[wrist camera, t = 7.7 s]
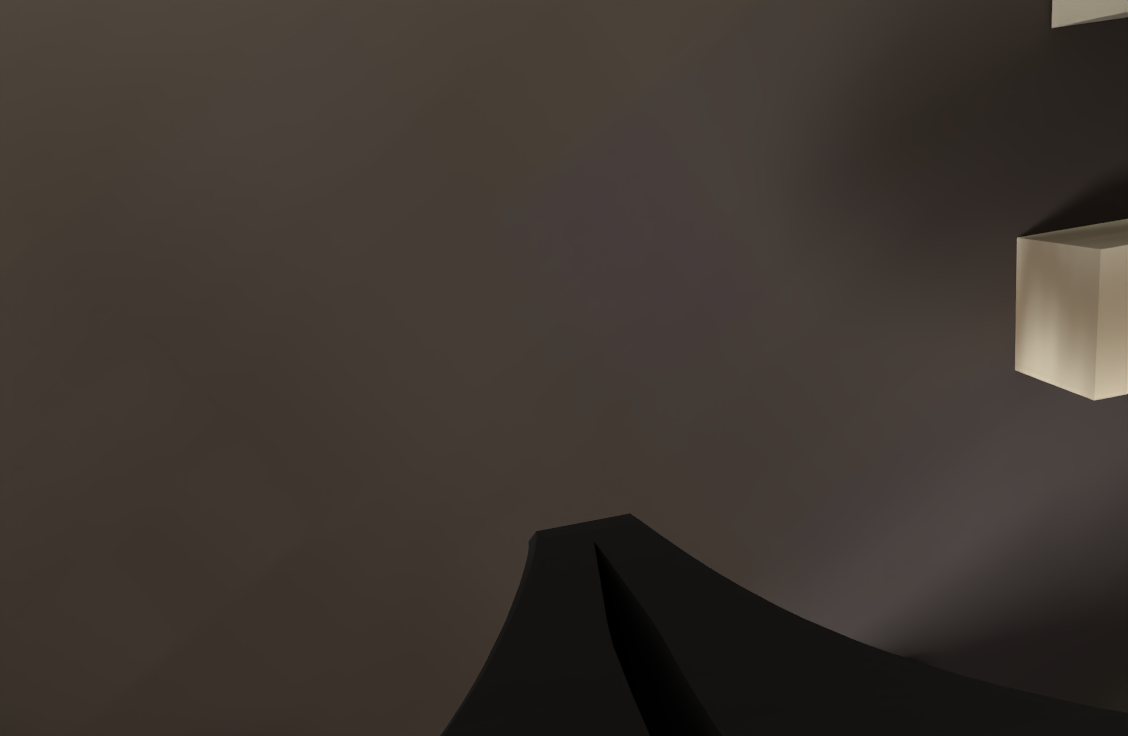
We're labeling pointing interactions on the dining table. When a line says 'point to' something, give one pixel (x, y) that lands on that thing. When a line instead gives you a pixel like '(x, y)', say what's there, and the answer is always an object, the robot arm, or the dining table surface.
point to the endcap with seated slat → (1087, 11)
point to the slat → (1074, 308)
